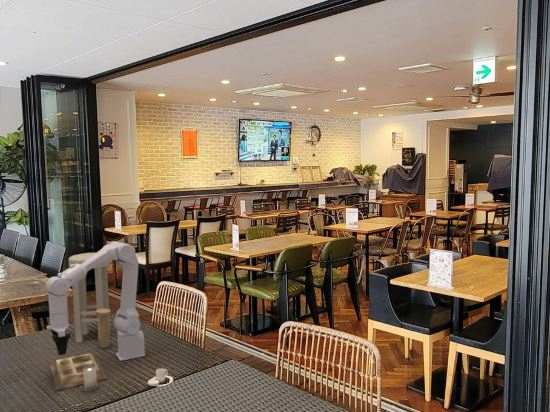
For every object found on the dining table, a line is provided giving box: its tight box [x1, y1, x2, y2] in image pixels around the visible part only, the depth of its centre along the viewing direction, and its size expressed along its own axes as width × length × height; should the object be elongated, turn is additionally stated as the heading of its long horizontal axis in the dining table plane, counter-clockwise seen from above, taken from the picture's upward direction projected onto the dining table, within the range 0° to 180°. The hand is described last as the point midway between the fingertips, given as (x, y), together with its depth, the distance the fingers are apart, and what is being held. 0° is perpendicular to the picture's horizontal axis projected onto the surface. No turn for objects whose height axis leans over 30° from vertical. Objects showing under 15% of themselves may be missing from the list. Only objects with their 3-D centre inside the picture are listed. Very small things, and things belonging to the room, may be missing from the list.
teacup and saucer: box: [147, 368, 174, 387], centre depth 164 cm, size 9×8×4 cm
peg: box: [83, 366, 98, 393], centre depth 159 cm, size 4×4×7 cm
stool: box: [67, 252, 111, 343], centre depth 205 cm, size 16×16×35 cm
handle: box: [95, 308, 112, 349], centre depth 194 cm, size 5×6×15 cm
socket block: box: [49, 352, 108, 392], centre depth 171 cm, size 16×22×3 cm
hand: (61, 350), depth 167 cm, fingers open, 7 cm apart
